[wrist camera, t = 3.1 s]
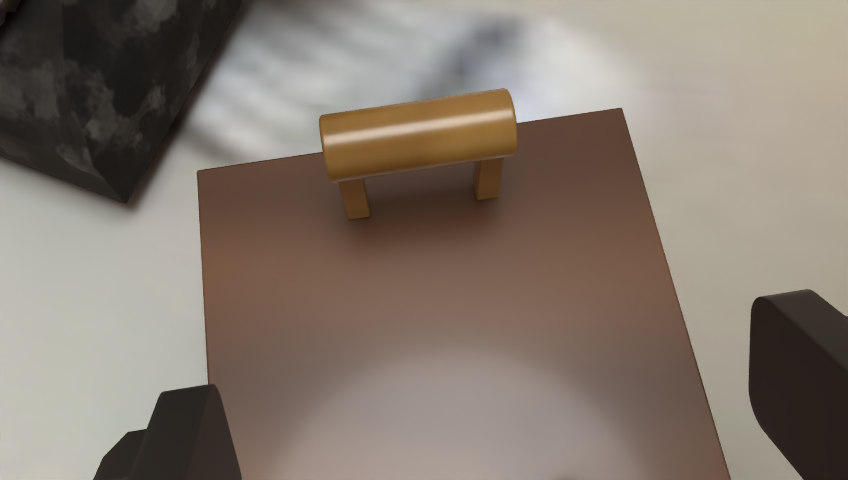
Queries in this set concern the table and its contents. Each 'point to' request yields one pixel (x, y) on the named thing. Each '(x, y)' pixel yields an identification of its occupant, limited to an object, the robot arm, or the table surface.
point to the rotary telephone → (99, 82)
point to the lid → (450, 304)
